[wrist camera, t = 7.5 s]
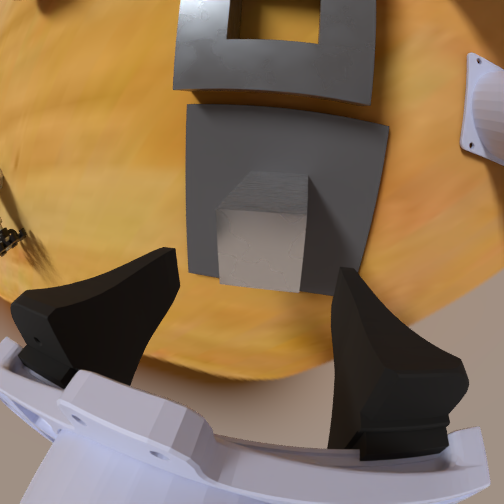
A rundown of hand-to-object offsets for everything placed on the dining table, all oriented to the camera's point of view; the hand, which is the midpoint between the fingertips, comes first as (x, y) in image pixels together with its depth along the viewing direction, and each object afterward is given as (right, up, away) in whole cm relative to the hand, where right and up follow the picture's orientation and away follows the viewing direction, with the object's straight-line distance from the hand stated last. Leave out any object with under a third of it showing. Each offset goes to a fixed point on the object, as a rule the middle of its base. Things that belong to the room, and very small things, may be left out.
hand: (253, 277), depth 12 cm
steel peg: (+2, +5, +8) cm, 9 cm away
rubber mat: (+2, +5, +9) cm, 10 cm away
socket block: (+2, +17, +2) cm, 17 cm away
